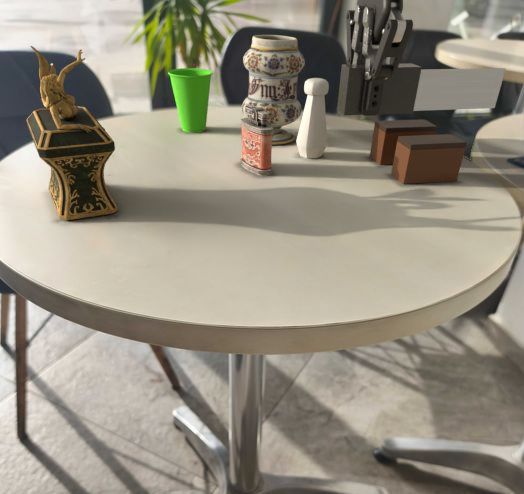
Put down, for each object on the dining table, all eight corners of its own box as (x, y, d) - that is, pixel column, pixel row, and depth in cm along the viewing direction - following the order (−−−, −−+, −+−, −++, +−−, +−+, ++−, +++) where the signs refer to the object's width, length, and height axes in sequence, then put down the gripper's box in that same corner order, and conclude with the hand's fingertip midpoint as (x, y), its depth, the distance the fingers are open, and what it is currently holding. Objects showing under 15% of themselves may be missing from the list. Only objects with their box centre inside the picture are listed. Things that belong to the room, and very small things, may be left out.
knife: (488, 105, 65) (500, 62, 62) (499, 110, 63) (512, 65, 60) (336, 110, 61) (341, 64, 58) (344, 115, 59) (349, 68, 56)
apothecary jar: (311, 140, 103) (320, 38, 92) (269, 150, 96) (272, 42, 85) (272, 127, 110) (275, 31, 98) (229, 136, 103) (228, 35, 92)
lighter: (276, 173, 86) (278, 111, 80) (259, 176, 84) (260, 113, 78) (252, 160, 91) (253, 101, 85) (236, 163, 90) (236, 103, 84)
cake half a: (442, 171, 89) (451, 134, 85) (456, 181, 85) (467, 142, 81) (390, 174, 87) (398, 136, 83) (403, 184, 83) (411, 144, 79)
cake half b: (417, 154, 97) (424, 119, 93) (429, 162, 93) (437, 126, 89) (369, 156, 95) (375, 120, 91) (379, 164, 91) (386, 128, 87)
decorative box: (128, 217, 70) (104, 57, 58) (57, 228, 67) (15, 60, 54) (100, 172, 84) (76, 36, 72) (40, 180, 81) (4, 38, 68)
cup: (189, 137, 102) (185, 77, 95) (164, 128, 107) (159, 70, 100) (223, 130, 107) (221, 73, 100) (198, 121, 112) (195, 66, 105)
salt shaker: (290, 152, 96) (294, 77, 88) (315, 149, 98) (321, 75, 90) (305, 161, 92) (311, 83, 83) (331, 157, 94) (339, 81, 86)
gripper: (459, -76, 45) (417, 125, 56) (395, -69, 56) (370, 98, 67) (383, -79, 44) (355, 127, 55) (332, -72, 55) (317, 99, 65)
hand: (363, 110), depth 61 cm, fingers closed on knife, 2 cm apart
